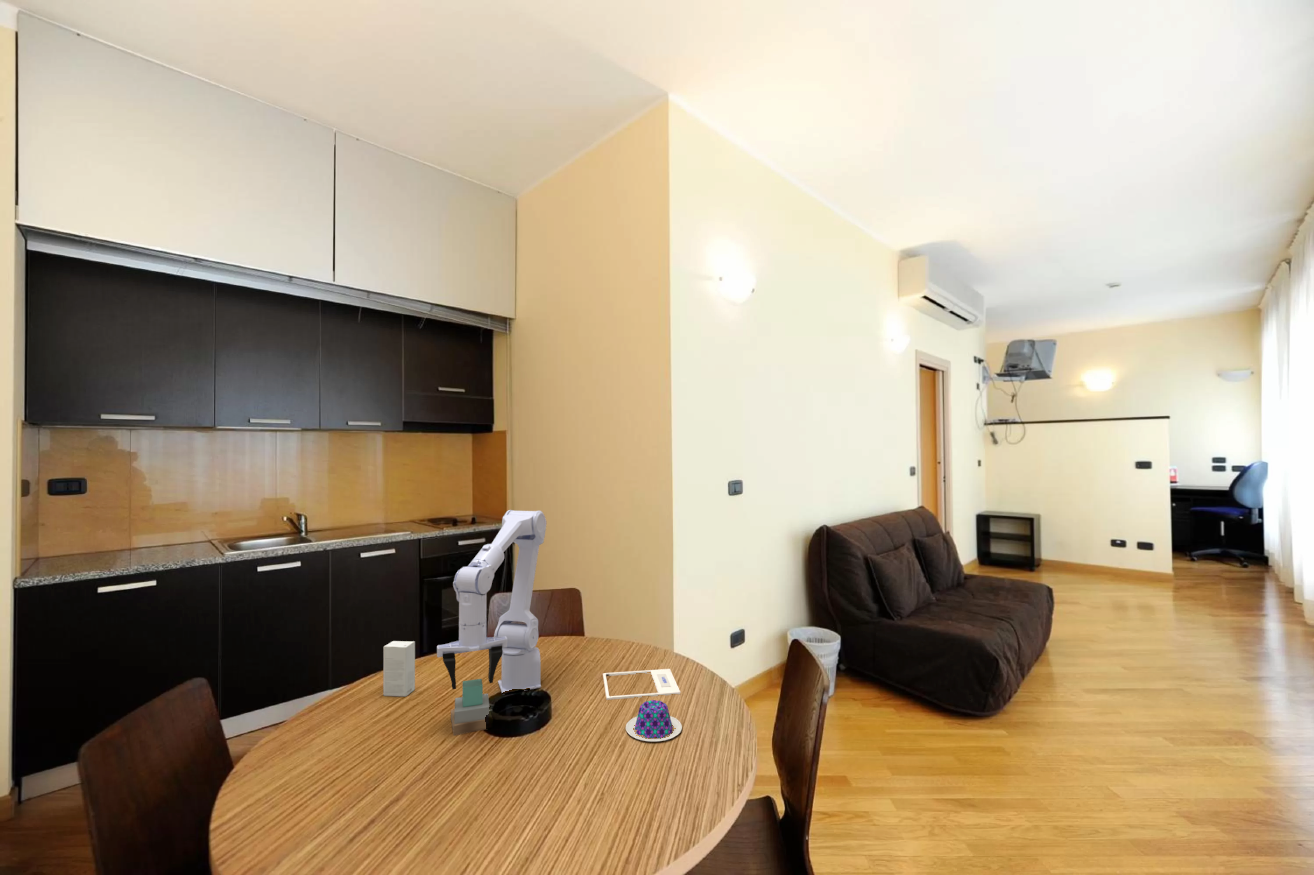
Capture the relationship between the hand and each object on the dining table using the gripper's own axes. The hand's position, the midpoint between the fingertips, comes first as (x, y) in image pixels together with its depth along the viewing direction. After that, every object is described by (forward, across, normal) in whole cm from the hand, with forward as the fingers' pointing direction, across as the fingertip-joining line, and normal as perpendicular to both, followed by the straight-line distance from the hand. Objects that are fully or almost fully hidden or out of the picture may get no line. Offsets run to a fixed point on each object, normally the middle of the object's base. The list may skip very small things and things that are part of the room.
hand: (472, 684), depth 120 cm
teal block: (+4, 0, 0) cm, 4 cm away
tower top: (+6, 0, 0) cm, 6 cm away
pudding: (+9, +35, -19) cm, 41 cm away
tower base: (+9, 0, 0) cm, 9 cm away
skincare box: (+8, -15, +23) cm, 29 cm away
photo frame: (+9, +41, +3) cm, 42 cm away
